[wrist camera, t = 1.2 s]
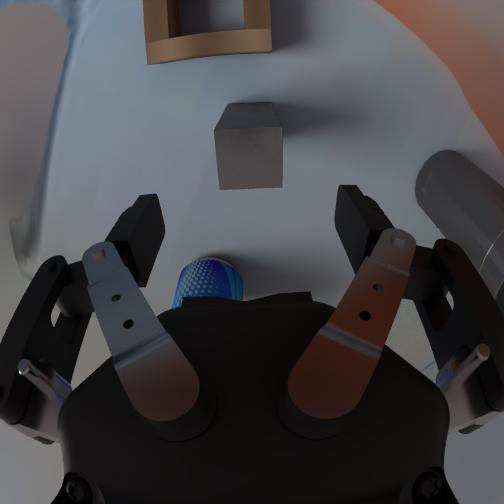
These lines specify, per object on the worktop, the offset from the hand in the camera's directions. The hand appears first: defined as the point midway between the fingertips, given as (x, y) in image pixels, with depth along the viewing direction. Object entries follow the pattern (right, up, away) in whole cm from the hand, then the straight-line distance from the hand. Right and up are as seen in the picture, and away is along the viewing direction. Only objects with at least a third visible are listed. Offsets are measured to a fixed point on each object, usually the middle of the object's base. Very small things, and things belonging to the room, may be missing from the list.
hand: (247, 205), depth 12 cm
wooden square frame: (-3, +20, +5) cm, 21 cm away
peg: (0, +11, +13) cm, 17 cm away
